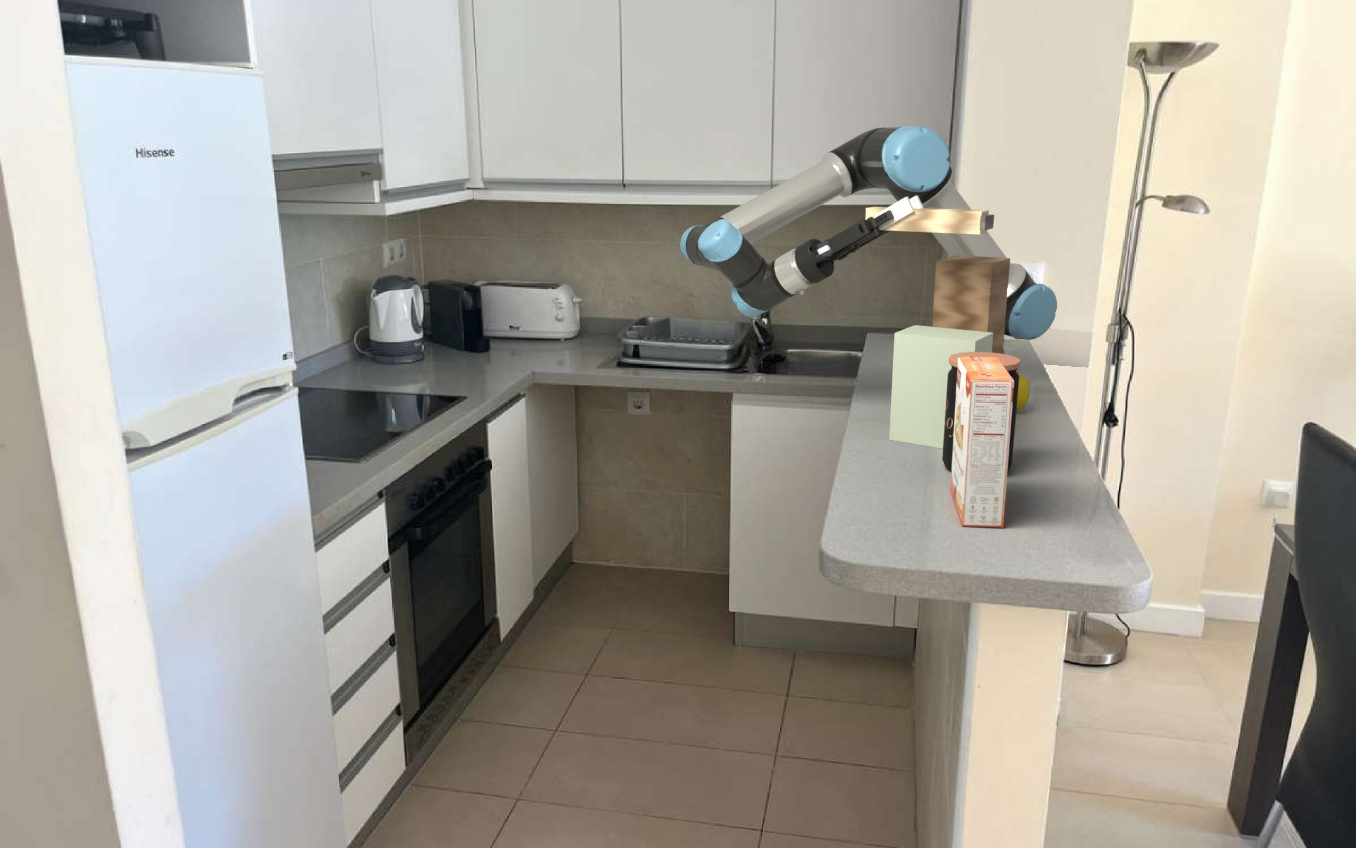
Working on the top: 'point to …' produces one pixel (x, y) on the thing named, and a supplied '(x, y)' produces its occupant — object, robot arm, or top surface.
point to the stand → (972, 295)
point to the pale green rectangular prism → (926, 380)
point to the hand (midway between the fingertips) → (915, 203)
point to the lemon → (1022, 392)
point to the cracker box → (981, 441)
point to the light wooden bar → (940, 220)
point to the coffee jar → (1006, 360)
